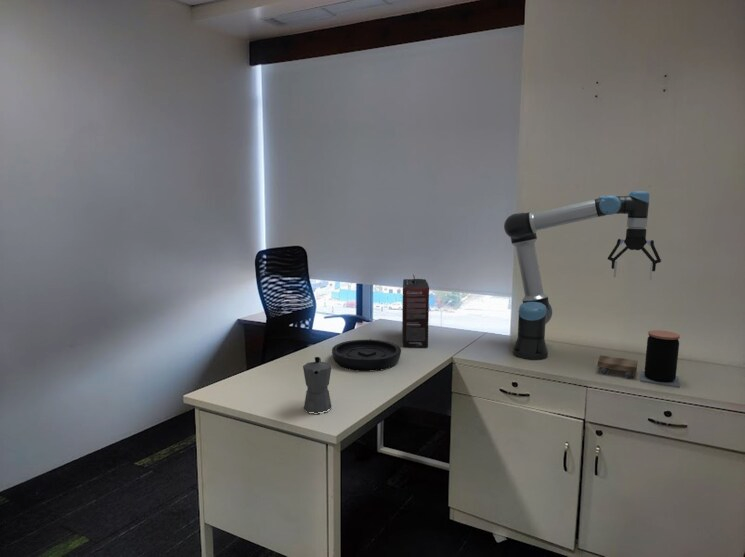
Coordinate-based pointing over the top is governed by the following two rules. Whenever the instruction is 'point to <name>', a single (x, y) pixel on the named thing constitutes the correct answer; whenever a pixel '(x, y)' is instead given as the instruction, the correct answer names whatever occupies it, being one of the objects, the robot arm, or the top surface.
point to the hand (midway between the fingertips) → (632, 277)
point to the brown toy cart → (617, 365)
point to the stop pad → (673, 383)
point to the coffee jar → (661, 356)
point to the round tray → (366, 354)
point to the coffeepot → (317, 386)
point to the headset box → (415, 312)
